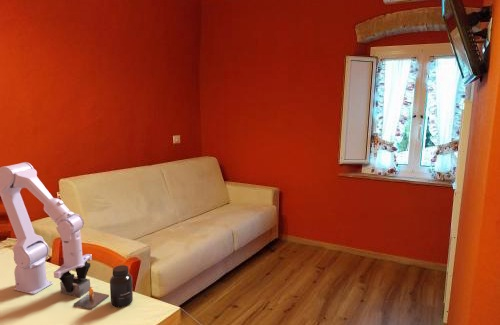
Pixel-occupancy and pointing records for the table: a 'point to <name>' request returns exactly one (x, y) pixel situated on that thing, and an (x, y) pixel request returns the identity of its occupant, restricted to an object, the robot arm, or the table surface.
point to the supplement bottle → (121, 287)
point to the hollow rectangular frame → (77, 287)
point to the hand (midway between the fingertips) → (75, 287)
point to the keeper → (91, 299)
